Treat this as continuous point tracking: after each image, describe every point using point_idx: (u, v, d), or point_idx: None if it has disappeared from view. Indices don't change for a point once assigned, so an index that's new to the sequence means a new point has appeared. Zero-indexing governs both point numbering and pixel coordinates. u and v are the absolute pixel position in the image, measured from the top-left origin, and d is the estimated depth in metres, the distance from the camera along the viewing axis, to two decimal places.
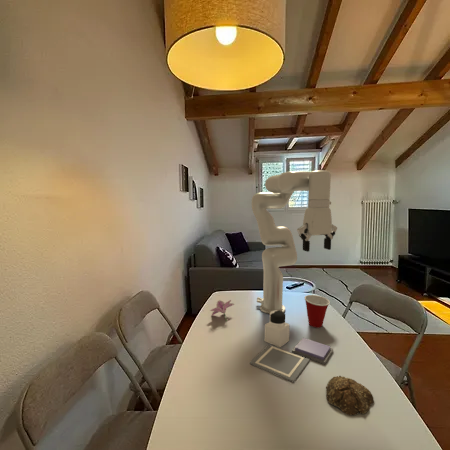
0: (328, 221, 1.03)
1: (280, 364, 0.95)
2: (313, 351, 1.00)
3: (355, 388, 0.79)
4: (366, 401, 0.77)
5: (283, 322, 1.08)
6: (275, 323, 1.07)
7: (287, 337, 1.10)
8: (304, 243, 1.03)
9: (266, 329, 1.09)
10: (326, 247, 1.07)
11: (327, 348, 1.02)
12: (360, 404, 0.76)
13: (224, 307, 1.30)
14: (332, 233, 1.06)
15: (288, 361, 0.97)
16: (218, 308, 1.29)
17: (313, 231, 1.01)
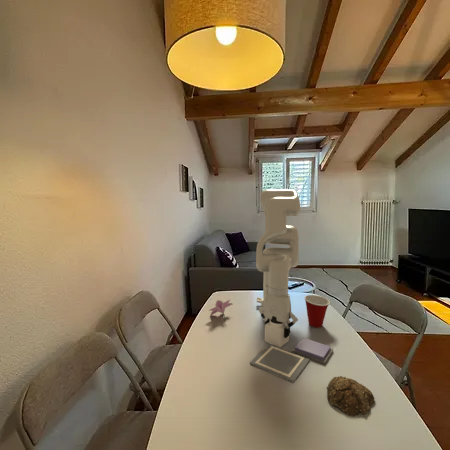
0: None
1: (280, 364, 0.95)
2: (313, 351, 1.00)
3: (356, 388, 0.79)
4: (367, 401, 0.77)
5: None
6: (275, 323, 1.07)
7: (287, 337, 1.10)
8: (289, 330, 1.07)
9: (266, 329, 1.09)
10: None
11: (327, 348, 1.02)
12: (361, 404, 0.75)
13: (223, 307, 1.30)
14: None
15: (288, 361, 0.97)
16: (217, 308, 1.29)
17: None
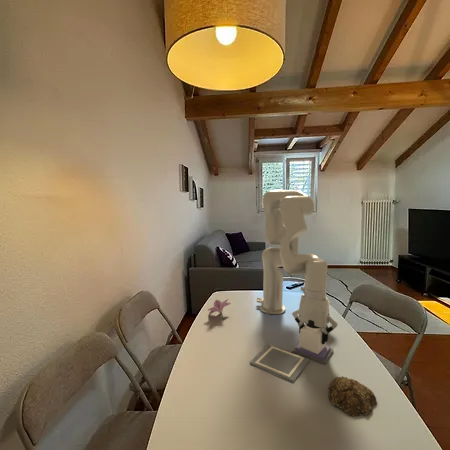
0: None
1: (280, 364, 0.95)
2: None
3: (358, 389, 0.79)
4: (369, 402, 0.77)
5: None
6: (312, 328, 0.99)
7: None
8: (327, 335, 1.00)
9: (302, 334, 1.02)
10: None
11: (327, 348, 1.02)
12: (363, 405, 0.75)
13: (221, 306, 1.31)
14: None
15: (288, 361, 0.97)
16: (215, 307, 1.30)
17: None
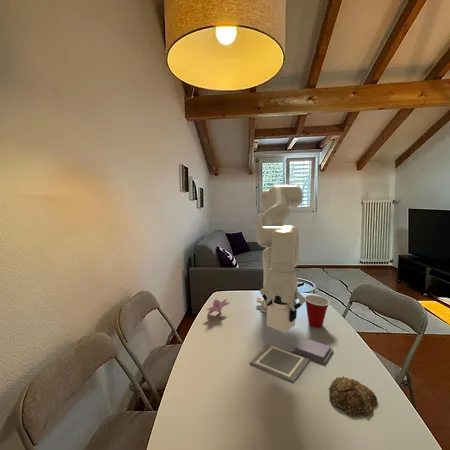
0: None
1: (280, 364, 0.95)
2: (313, 351, 1.00)
3: (359, 389, 0.79)
4: (370, 402, 0.77)
5: None
6: (279, 304, 0.92)
7: (293, 321, 0.94)
8: (295, 312, 0.92)
9: (269, 311, 0.94)
10: None
11: (327, 348, 1.02)
12: (364, 405, 0.75)
13: (220, 306, 1.31)
14: None
15: (288, 361, 0.97)
16: (214, 307, 1.30)
17: None
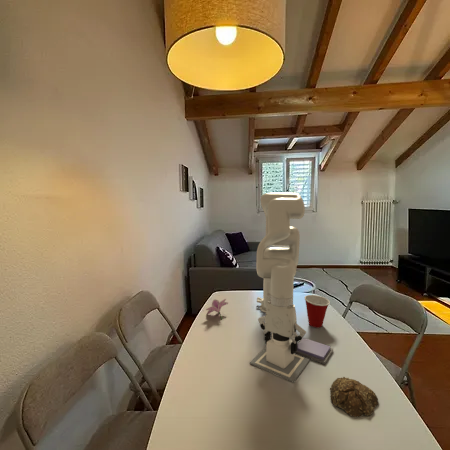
0: None
1: None
2: (313, 351, 1.00)
3: (359, 389, 0.78)
4: (371, 403, 0.77)
5: (288, 339, 0.94)
6: (278, 340, 0.93)
7: (292, 356, 0.96)
8: (296, 344, 0.93)
9: (268, 347, 0.96)
10: None
11: (327, 348, 1.02)
12: (365, 406, 0.75)
13: (219, 306, 1.31)
14: None
15: None
16: (213, 307, 1.30)
17: None
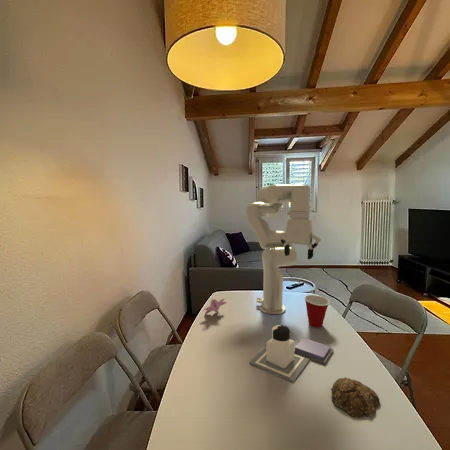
0: None
1: None
2: (313, 351, 1.00)
3: (361, 390, 0.78)
4: (372, 403, 0.77)
5: (288, 339, 0.94)
6: (278, 340, 0.93)
7: (292, 356, 0.96)
8: (312, 251, 1.11)
9: (268, 347, 0.96)
10: (288, 253, 1.17)
11: (327, 348, 1.02)
12: (367, 406, 0.75)
13: (217, 306, 1.31)
14: (285, 240, 1.18)
15: None
16: (212, 307, 1.31)
17: None
